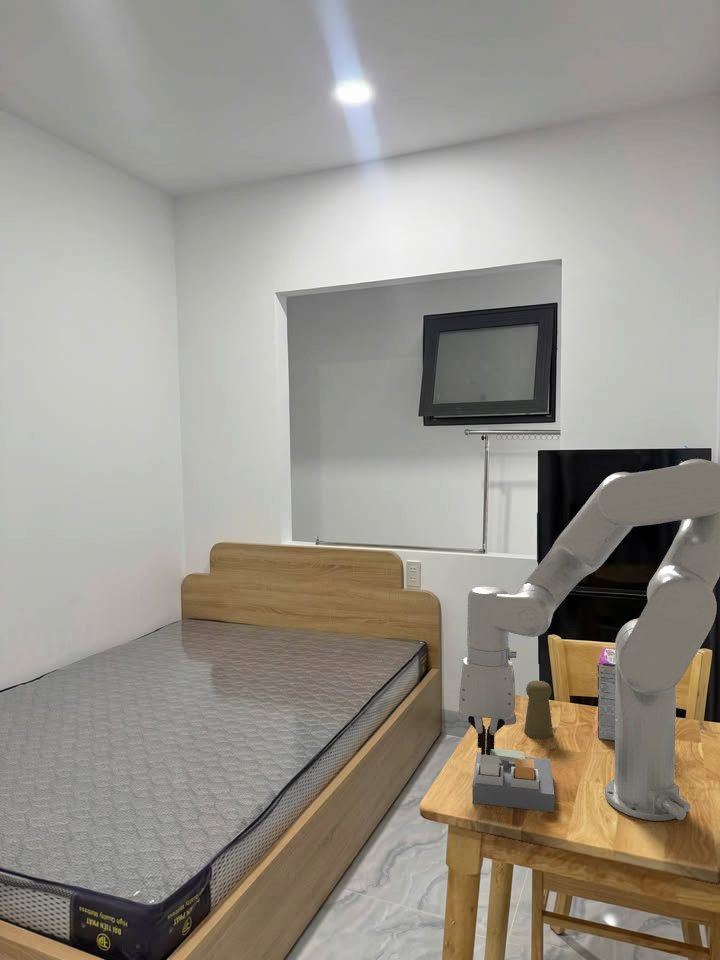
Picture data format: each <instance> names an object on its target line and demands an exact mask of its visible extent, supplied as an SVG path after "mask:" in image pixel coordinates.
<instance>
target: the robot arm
mask: <svg viewBox="0 0 720 960" xmlns="http://www.w3.org/2000/svg"><path fill="white" fill-rule="evenodd" d="M676 521H681V522H680V525H679V529H678V531H677V533H676V535H675V537H674V539H673V541H672V544H671V545H670V547H669V549H668V551H667V553H666V554H665V555H664V557H663V559H662V561H661V563H660V565H659V567H658V568H657V570H656V572H655V573H654V575H653V576H652V577H651V579H650V580H649V582H648V585H647V589H646V596H647V603H646V605H645V606H644V608H643V610H642V612H641V614H640V615H639V617H638V618H635V619H632V620H629V621H628V622H626V623H625V624H624V625H623V626H622V627H621V628H620V630H619V631H618V633H617V635H616V638H615V644H614V649H615V662H616V706H615V741H614V779H613V780H611V781H609V782H608V783H606V785H605V787H604V797H605V799H606V801H607V802H608V803H609V804H610V805H611V806H612V807H613V808H614V809H616V810H618V811H619V812H621V813H623V814H626V815H628V816H629V817H633V818H637V819H640V820H645V821H653V822H654V821H656V822H661V821H662V822H663V821H671V820H674V819H677V820H678V821H683V820H684V819H685V817H686V816H687V812H689V811H690V810H691V804H690V803H689V802H688V801H686V800H685V799H683V797H682V795H680V786H679V785H677V784H676V783H675V773H676V771H675V769H676V768H675V767H676V766H675V765H676V764H675V761H676V757H675V756H676V749H675V748H676V718H677V716H676V715H677V687H676V686H677V685H678V683H680V682H681V680H682V678H683V677H684V675H685V673H686V672H687V670H688V669H689V667H690V665H691V664H692V662H693V661H694V659H695V657H696V656H697V654H698V652H699V650H700V648H701V646H702V645H703V643H704V642H705V640H706V638H707V636H708V635H709V632H711V629H712V627H713V625H714V622H715V620H716V616H717V607H718V606H717V605H718V604H717V599H716V596H715V593H714V592H713V590H714V588H715V586H716V584H717V582H718V581H719V578H720V464H719V463H718V462H715V461H711V460H707V459H702V458H691V459H688V460H685V461H683V462H681V463H679V464H678V465H674V466H668V467H664V468H663V467H662V468H658V469H657V468H656V469H653V470H652V469H651V470H644V471H639V472H628V471H621V472H615V473H612V474H610V475H609V476H607V477H606V478H605V479H604V480H603V481H602V482H601V483H600V484H599V486H598V487H597V488H596V489H595V491H594V492H593V493H592V494H591V495H590V497H589V498H588V500H587V501H585V504H583V505H582V507H581V508H580V510H579V511H578V512H577V513H576V515H575V516H574V517H573V518H572V519H571V521H570V522H569V523H568V525H567V526H566V527H565V528H564V530H563V531H562V532H561V533H560V534H559V536H557V538H556V540H555V541H554V543H553V545H552V547H551V548H550V550H549V551H548V552H547V554H546V555H545V556H544V558H543V559H542V560H541V562H540V563H538V565H537V566H536V568H535V569H534V570H533V571H532V572H531V574H530V575H529V577H528V578H526V580H525V581H524V583H523V584H522V585H521V586H520V588H519V589H518V590H517V592H516V593H515V594H509V593H508V592H507V590H505V589H504V588H500V587H496V586H488V585H487V586H477V587H474V588H472V589H470V590H469V592H468V594H467V621H466V622H467V624H466V625H467V628H466V629H467V631H466V632H467V633H466V634H467V635H466V636H467V637H466V657H464V658H463V659H462V664H461V669H460V675H459V678H460V679H459V686H458V687H459V690H458V710H457V714H456V717H457V719H458V720H461V721H463V722H468V723H469V724H470V725H471V726H472V727H473V728H474V730H475V731H476V733H477V748H478V749H480V753H481V755H484V754H485V752H486V754H487V755H490V749H493V750H494V748H495V736H496V733H497V732H498V731H499V730H500V729H501V728H503V727H504V726H511V725H515V724H517V717H516V712H515V707H516V684H515V683H516V682H515V673H514V672H515V671H514V664H513V662H512V661H511V659H517V650H513V649H511V648H510V647H509V646H510V645H509V642H510V639H509V637H510V636H509V635H510V633H511V634H513V635H518V636H522V637H527V638H528V637H530V638H535V637H539V636H542V635H543V634H545V633H546V631H548V629H549V627H550V626H551V623H552V619H553V615H554V612H555V611H556V610H557V609H558V608H559V606H560V605H561V603H562V602H563V601H564V599H566V598H567V596H568V595H569V593H570V592H572V590H573V589H574V588H575V587H576V585H578V584H579V583H580V582H581V580H583V579H584V578H585V577H587V576H588V575H590V574H592V573H594V572H596V571H597V570H598V569H599V568H600V567H601V566H602V565H603V564H604V563H605V562H606V561H607V559H608V558H609V557H610V555H611V554H612V553H613V551H615V549H616V548H617V546H619V544H620V543H621V542H622V540H624V538H625V537H626V536H627V534H628V533H630V531H631V530H632V529H633V527H640V526H641V527H642V526H649V525H651V526H652V525H657V524H663V523H670V522H676ZM484 718H485V719H490V722H489V725H488V726H487V728H486V726H485V724H484Z"/></svg>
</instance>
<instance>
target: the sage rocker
mask: <svg viewBox="0 0 720 960" xmlns="http://www.w3.org/2000/svg"><path fill="white" fill-rule="evenodd" d="M485 755H487V754H486V751H485ZM490 756H499V760H504V761H512V762H515V758H522V759H525V757H526V756H525V751H519V750H513V749H512V750H511V749H505V748H504V749H502V748H496V747H494V750H493V749H490Z"/></svg>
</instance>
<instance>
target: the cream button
mask: <svg viewBox="0 0 720 960" xmlns="http://www.w3.org/2000/svg"><path fill="white" fill-rule="evenodd" d="M480 774H484V775H494V776H499V756H490V755H481V759H480Z"/></svg>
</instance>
